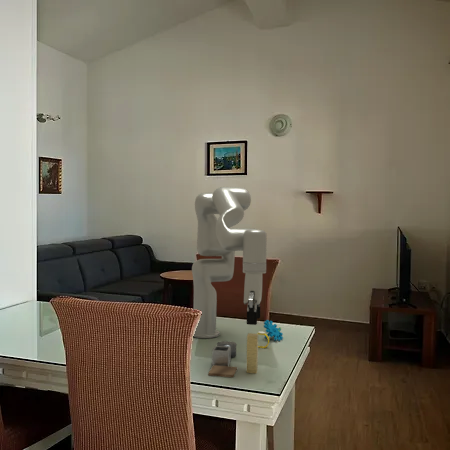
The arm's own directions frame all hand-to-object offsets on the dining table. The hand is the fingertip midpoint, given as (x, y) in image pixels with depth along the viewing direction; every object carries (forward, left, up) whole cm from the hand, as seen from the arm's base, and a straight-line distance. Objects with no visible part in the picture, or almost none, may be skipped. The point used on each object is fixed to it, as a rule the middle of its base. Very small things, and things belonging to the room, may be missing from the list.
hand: (253, 321), depth 157 cm
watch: (0, +29, -17) cm, 34 cm away
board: (-9, -3, -16) cm, 19 cm away
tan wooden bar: (0, 0, -17) cm, 16 cm away
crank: (-11, +11, -16) cm, 22 cm away
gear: (+4, +43, -17) cm, 46 cm away
